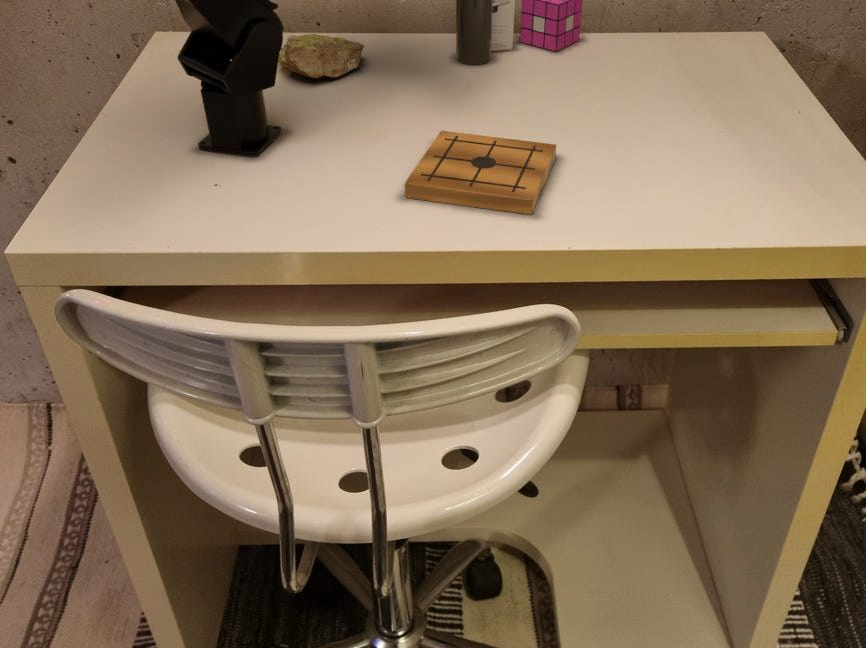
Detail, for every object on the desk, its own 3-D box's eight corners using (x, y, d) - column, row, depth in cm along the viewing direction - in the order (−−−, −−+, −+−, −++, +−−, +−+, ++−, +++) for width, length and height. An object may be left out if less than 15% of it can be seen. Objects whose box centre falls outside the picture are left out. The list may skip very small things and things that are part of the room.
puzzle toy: (543, 31, 114) (546, -14, 110) (579, 40, 112) (583, -6, 108) (519, 42, 111) (521, -4, 107) (555, 52, 108) (559, 5, 104)
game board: (531, 215, 76) (532, 199, 75) (405, 197, 78) (404, 182, 77) (555, 158, 85) (556, 143, 84) (441, 144, 87) (440, 129, 86)
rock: (353, 89, 98) (356, 56, 96) (266, 75, 97) (267, 41, 95) (366, 63, 109) (369, 33, 107) (288, 50, 108) (289, 20, 106)
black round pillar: (486, 66, 104) (488, -40, 96) (452, 62, 105) (451, -43, 97) (494, 54, 107) (497, -50, 99) (461, 51, 108) (461, -53, 100)
